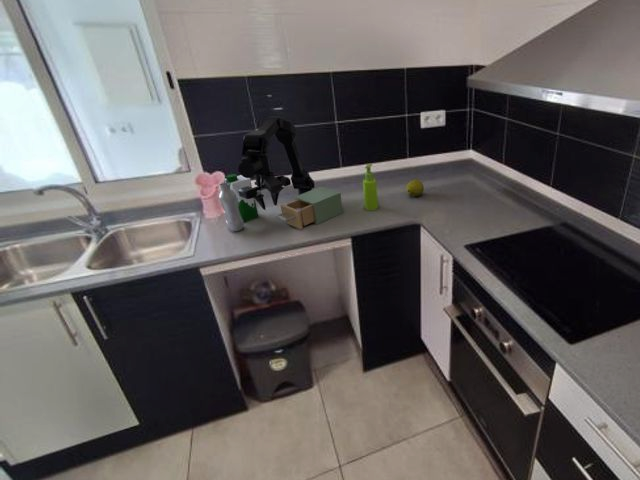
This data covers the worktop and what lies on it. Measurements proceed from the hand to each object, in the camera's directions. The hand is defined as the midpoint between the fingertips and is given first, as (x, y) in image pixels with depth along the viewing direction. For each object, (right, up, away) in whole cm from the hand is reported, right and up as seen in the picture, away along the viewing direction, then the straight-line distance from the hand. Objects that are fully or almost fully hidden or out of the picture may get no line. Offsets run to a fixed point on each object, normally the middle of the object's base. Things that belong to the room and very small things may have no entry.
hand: (270, 207), depth 147 cm
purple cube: (+7, -4, +13) cm, 15 cm away
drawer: (+8, -5, +14) cm, 17 cm away
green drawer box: (+14, -2, +22) cm, 26 cm away
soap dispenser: (+36, +2, +28) cm, 46 cm away
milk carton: (-18, -3, +20) cm, 27 cm away
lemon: (+55, +8, +39) cm, 68 cm away
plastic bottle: (-18, -9, +10) cm, 22 cm away
